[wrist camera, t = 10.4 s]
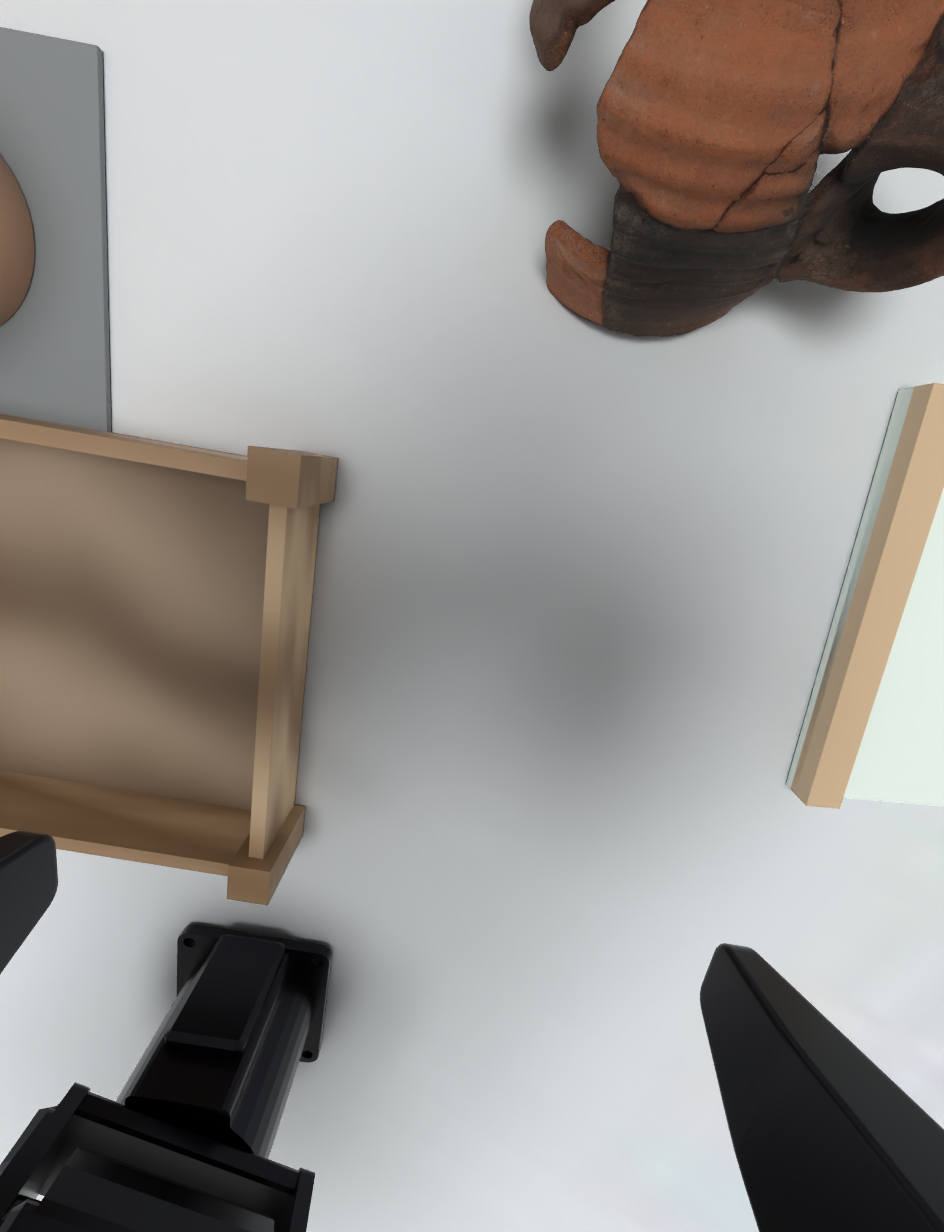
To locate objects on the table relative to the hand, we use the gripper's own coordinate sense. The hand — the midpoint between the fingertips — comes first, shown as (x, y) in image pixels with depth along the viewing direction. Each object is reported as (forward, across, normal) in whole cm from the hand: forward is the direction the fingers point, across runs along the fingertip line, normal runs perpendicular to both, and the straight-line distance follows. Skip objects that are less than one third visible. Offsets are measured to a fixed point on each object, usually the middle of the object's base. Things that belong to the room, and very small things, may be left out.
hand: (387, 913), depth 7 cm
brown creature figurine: (+12, -5, -15) cm, 20 cm away
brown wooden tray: (+12, +12, +2) cm, 17 cm away
